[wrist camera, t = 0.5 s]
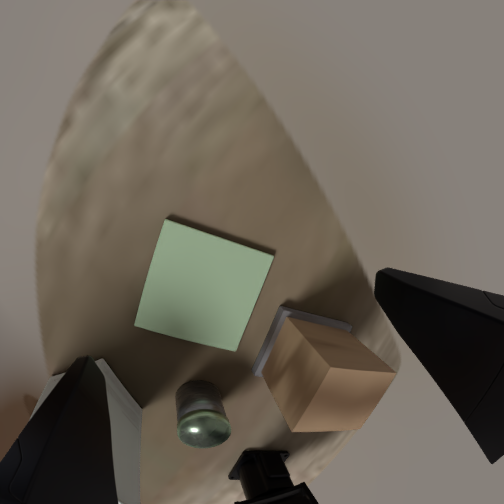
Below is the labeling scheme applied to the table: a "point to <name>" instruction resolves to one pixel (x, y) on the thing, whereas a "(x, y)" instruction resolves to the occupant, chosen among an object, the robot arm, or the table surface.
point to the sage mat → (201, 287)
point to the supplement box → (118, 433)
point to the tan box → (320, 372)
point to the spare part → (201, 415)
